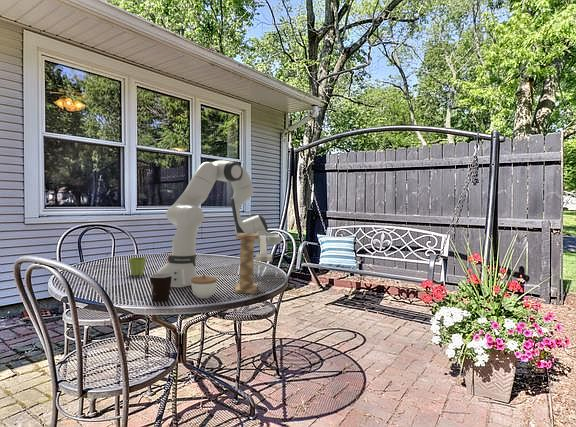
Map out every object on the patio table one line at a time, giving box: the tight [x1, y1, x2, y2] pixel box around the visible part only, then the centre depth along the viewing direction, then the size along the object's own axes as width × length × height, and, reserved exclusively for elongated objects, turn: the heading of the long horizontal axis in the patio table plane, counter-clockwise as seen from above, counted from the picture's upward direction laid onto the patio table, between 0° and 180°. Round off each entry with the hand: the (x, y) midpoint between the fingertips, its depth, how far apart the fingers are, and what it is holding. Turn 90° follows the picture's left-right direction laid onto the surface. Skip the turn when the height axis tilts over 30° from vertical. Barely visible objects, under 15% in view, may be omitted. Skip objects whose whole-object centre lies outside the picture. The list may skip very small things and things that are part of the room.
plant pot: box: [127, 257, 148, 276], centre depth 197 cm, size 9×9×9 cm
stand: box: [234, 233, 258, 294], centre depth 169 cm, size 10×12×26 cm
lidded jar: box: [190, 274, 218, 299], centre depth 156 cm, size 11×11×9 cm
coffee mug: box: [149, 273, 172, 303], centre depth 151 cm, size 12×9×10 cm
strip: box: [255, 235, 273, 262], centre depth 189 cm, size 8×20×2 cm, turn 7°
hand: (263, 240), depth 194 cm, fingers closed on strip, 3 cm apart
